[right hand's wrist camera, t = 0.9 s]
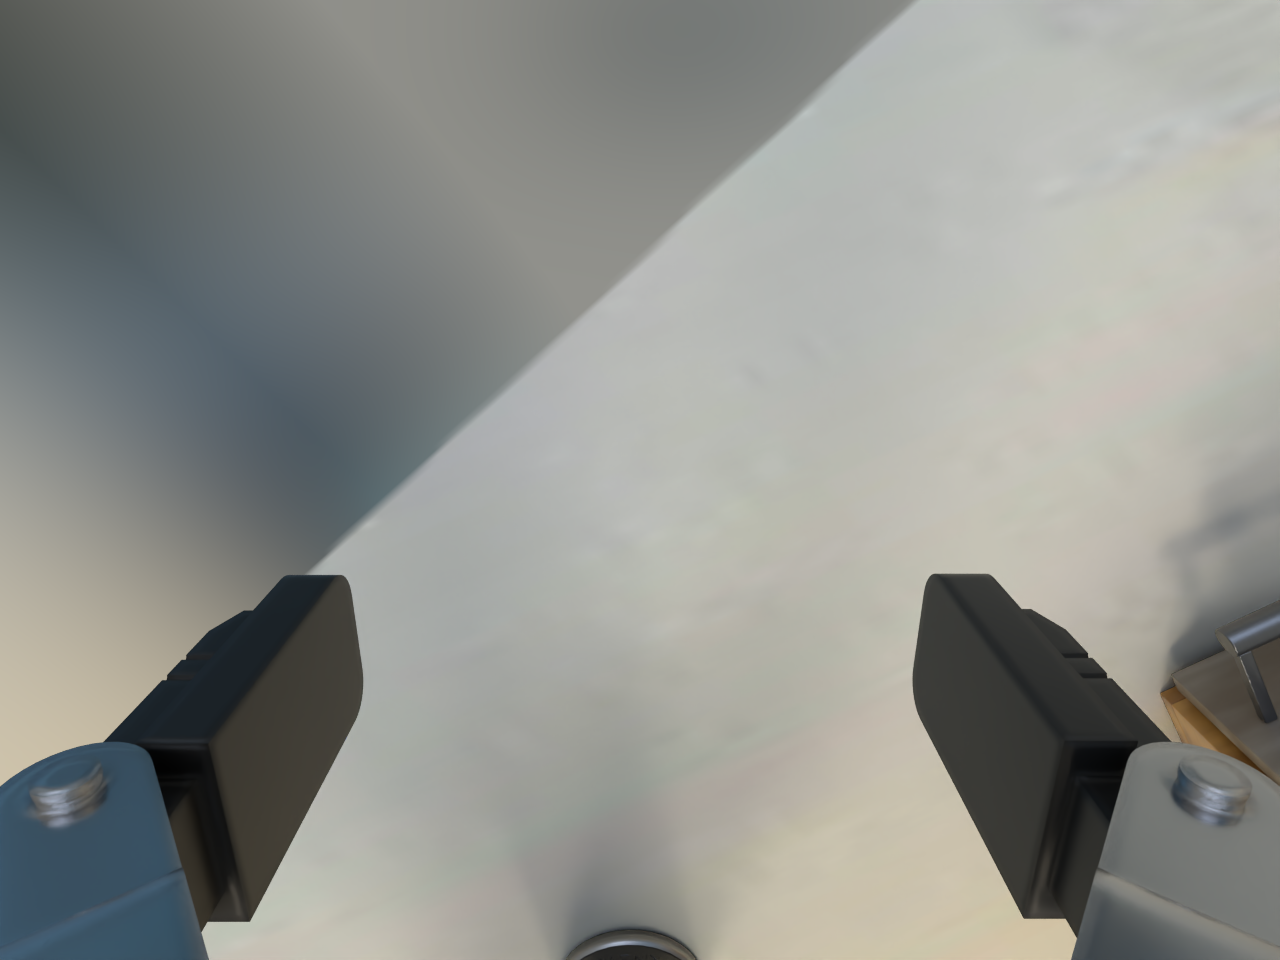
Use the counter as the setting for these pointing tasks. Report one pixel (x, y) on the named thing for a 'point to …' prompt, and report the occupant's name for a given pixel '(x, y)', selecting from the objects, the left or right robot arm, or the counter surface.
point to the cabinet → (1199, 727)
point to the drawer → (1243, 686)
